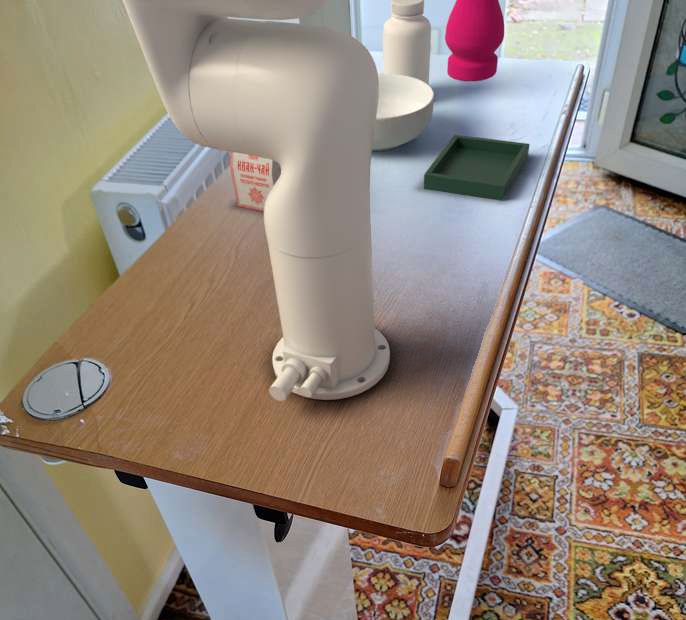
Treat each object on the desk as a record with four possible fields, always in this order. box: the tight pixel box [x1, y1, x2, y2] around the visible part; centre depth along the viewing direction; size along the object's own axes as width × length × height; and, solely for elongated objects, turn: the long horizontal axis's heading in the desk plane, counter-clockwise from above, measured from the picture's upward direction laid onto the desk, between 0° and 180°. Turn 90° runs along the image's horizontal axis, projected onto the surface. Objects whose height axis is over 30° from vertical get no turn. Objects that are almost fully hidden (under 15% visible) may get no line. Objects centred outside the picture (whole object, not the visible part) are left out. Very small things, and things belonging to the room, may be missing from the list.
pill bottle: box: [382, 0, 432, 86], centre depth 113 cm, size 8×8×15 cm
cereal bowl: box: [372, 73, 435, 152], centre depth 105 cm, size 17×17×7 cm
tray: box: [423, 134, 531, 201], centre depth 98 cm, size 14×12×2 cm
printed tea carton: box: [229, 152, 281, 212], centre depth 93 cm, size 4×7×10 cm, turn 63°
